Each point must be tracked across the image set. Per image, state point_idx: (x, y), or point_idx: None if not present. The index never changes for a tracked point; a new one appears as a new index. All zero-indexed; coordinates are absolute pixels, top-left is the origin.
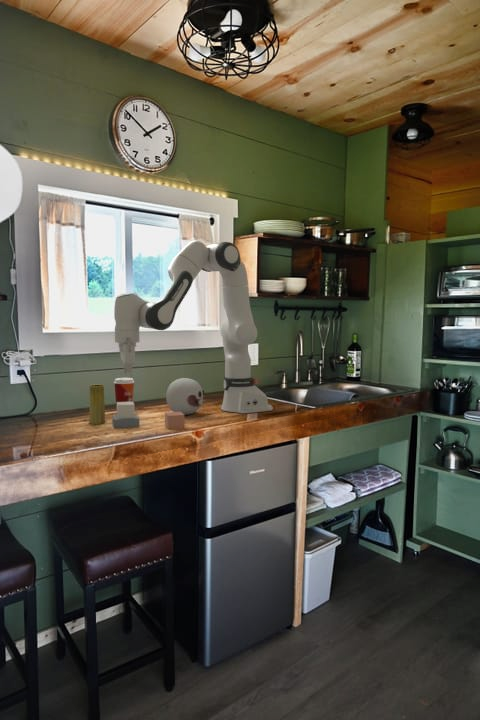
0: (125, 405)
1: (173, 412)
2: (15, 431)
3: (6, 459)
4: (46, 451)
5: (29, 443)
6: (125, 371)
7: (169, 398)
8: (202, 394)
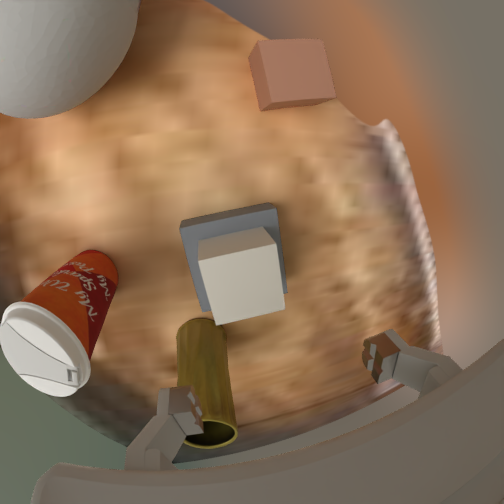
0: (281, 280)
1: (274, 69)
2: (277, 435)
3: None
4: (417, 347)
5: (366, 389)
6: (199, 411)
7: (87, 88)
8: None
